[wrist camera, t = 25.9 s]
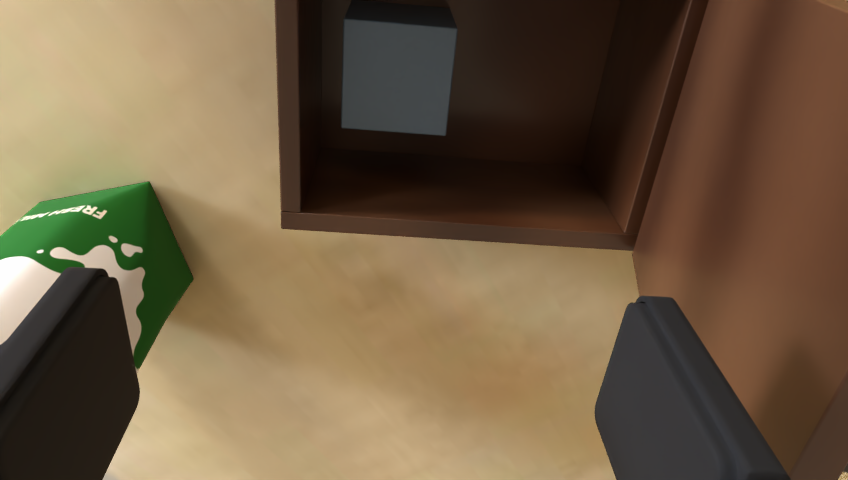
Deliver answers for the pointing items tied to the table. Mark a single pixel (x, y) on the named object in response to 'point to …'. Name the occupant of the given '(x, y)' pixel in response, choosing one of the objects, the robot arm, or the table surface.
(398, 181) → the chest
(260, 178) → the table surface
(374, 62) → the block
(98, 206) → the milk carton
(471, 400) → the table surface
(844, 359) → the lid
